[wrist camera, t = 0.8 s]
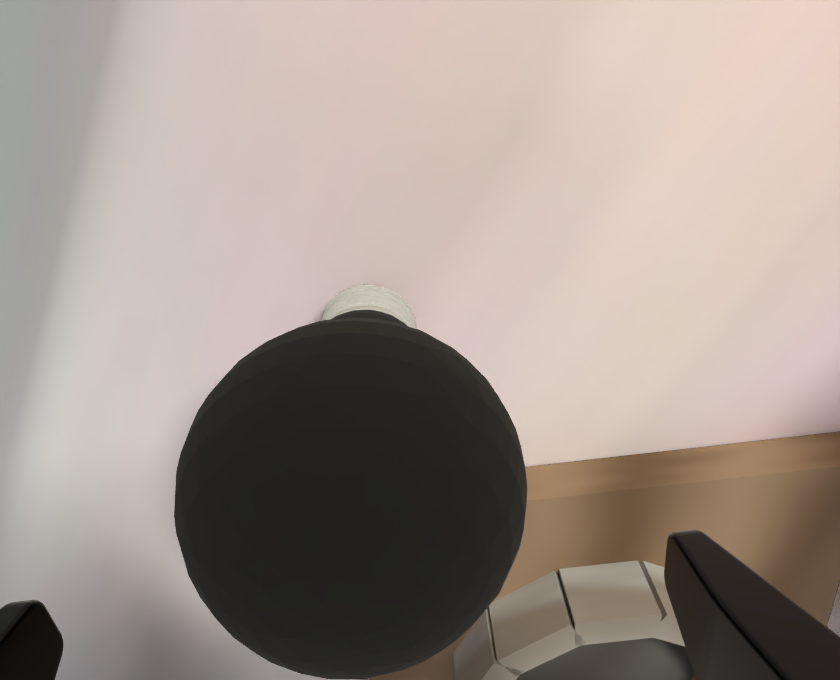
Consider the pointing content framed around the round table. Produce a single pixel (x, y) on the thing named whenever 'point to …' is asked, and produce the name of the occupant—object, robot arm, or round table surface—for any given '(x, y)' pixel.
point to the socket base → (647, 557)
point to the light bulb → (351, 493)
